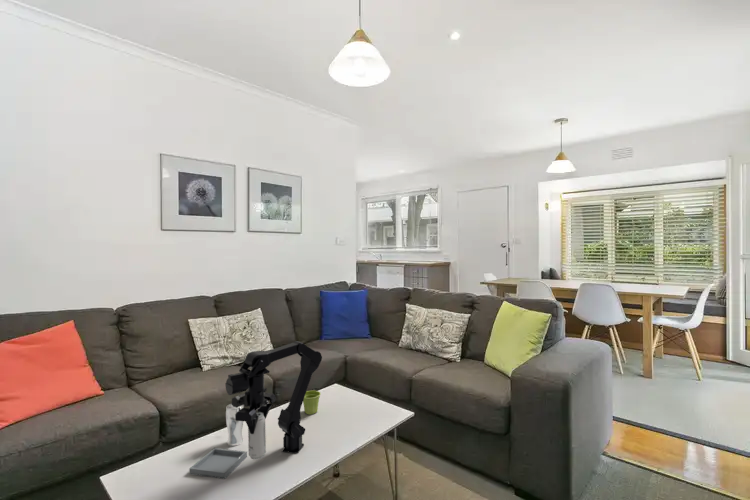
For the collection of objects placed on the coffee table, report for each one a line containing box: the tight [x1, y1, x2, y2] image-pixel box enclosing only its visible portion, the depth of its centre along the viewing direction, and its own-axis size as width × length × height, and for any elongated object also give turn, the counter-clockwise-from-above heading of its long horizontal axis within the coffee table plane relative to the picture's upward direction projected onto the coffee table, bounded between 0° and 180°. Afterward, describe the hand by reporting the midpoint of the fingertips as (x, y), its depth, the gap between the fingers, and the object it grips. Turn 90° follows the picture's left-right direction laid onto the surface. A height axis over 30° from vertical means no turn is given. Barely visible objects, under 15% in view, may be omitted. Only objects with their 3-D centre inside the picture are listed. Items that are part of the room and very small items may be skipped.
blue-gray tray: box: [188, 447, 248, 480], centre depth 138 cm, size 14×14×2 cm
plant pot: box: [302, 390, 321, 415], centre depth 183 cm, size 9×9×9 cm
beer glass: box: [225, 403, 244, 447], centre depth 155 cm, size 7×7×15 cm
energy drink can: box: [247, 411, 267, 460], centre depth 138 cm, size 6×6×15 cm
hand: (256, 429), depth 138 cm, fingers closed on energy drink can, 6 cm apart
